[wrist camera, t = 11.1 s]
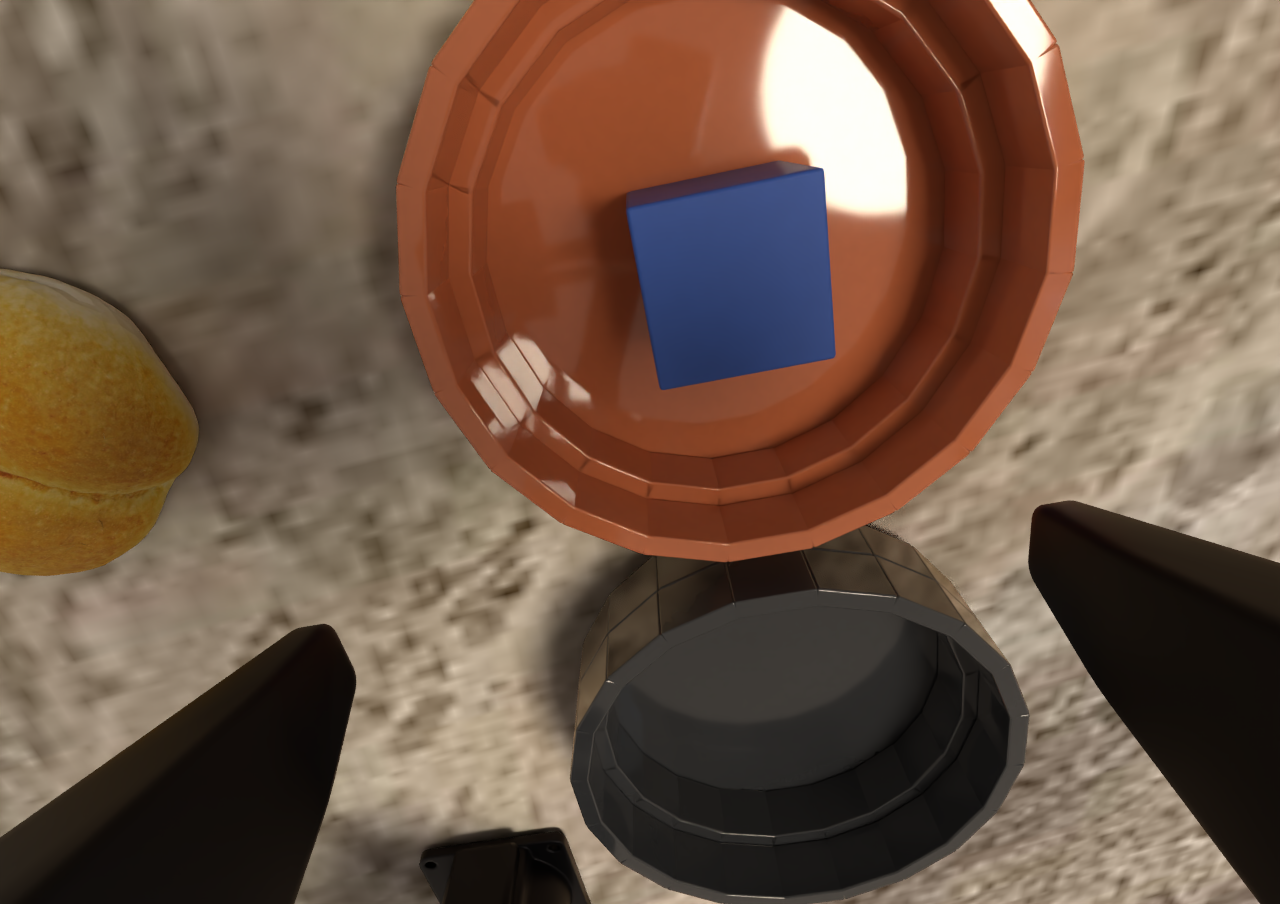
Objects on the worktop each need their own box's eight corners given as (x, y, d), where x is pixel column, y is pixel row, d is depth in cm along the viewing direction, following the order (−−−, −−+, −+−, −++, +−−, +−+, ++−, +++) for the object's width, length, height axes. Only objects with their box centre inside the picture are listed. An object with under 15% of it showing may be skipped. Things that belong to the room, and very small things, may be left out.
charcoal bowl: (956, 767, 27) (1014, 878, 23) (622, 815, 28) (621, 929, 24) (966, 471, 21) (1047, 551, 17) (538, 545, 22) (518, 637, 18)
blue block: (795, 314, 18) (837, 358, 15) (653, 341, 18) (660, 391, 15) (781, 159, 16) (824, 166, 13) (625, 192, 17) (625, 208, 13)
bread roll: (249, 372, 19) (163, 427, 16) (139, 570, 22) (46, 655, 19) (-57, 186, 17) (-241, 200, 13) (-134, 435, 20) (-301, 503, 16)
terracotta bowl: (967, 435, 21) (1051, 509, 16) (528, 512, 21) (505, 600, 17) (986, -141, 14) (1127, -249, 10) (369, 2, 15) (278, -44, 11)
